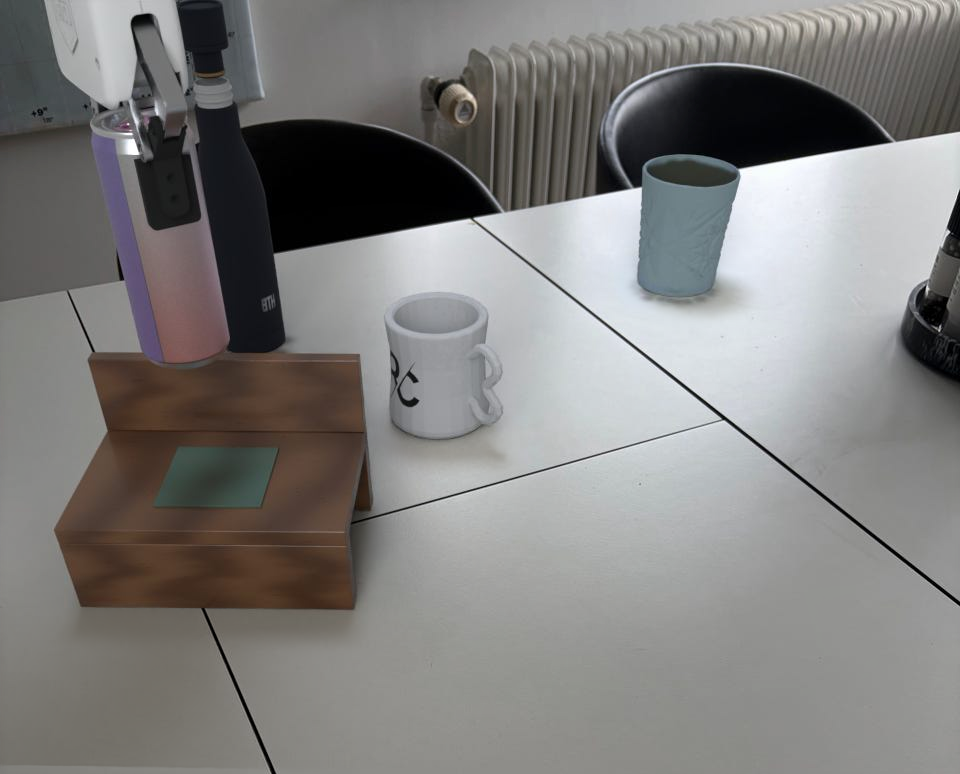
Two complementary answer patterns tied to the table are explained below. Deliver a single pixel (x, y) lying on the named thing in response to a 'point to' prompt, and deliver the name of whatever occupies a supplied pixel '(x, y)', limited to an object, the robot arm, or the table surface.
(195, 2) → the dark bottle
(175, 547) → the shelf
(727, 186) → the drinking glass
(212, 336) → the beverage can
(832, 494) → the table surface
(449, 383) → the mug
